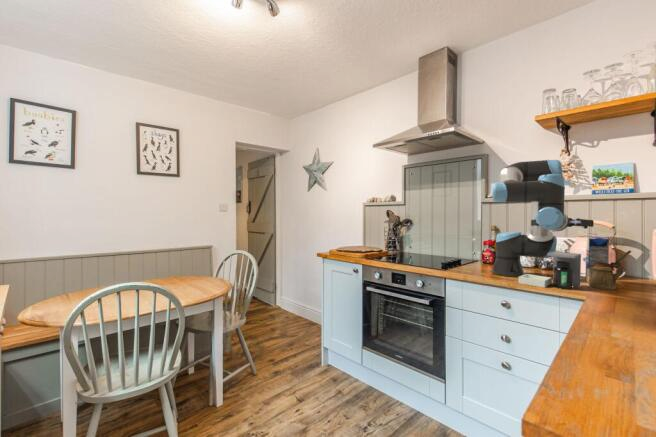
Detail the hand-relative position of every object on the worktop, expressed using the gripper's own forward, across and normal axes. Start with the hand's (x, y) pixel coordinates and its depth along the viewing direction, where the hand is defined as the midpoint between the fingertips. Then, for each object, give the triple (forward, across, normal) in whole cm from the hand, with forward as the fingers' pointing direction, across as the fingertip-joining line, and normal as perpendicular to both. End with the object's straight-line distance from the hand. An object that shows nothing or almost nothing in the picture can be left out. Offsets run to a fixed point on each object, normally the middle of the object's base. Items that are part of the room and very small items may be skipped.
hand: (563, 224), depth 128 cm
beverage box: (+37, +9, -27) cm, 47 cm away
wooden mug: (+27, +14, -28) cm, 41 cm away
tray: (+13, -12, -28) cm, 33 cm away
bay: (+14, -1, -28) cm, 31 cm away
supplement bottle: (+13, -1, -28) cm, 31 cm away
